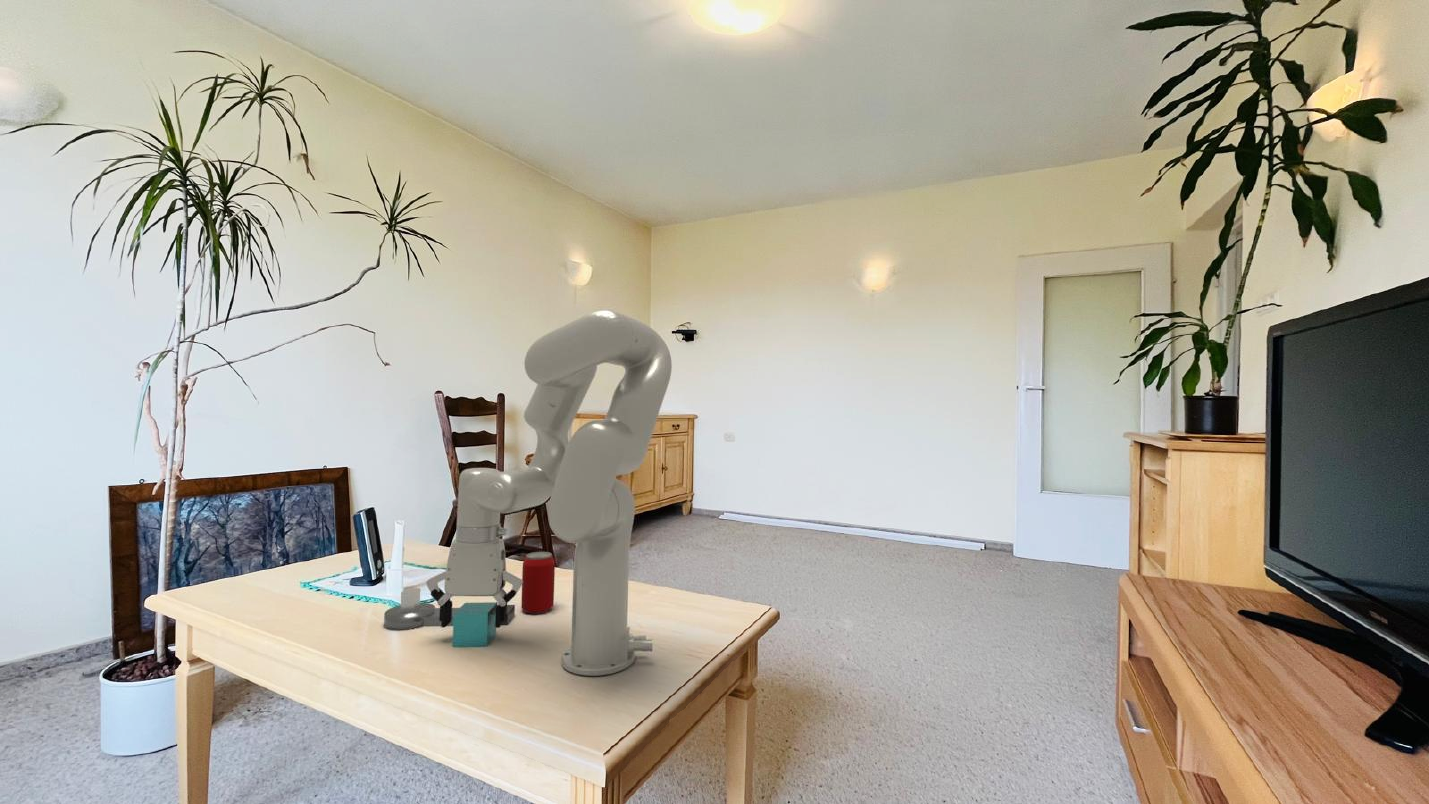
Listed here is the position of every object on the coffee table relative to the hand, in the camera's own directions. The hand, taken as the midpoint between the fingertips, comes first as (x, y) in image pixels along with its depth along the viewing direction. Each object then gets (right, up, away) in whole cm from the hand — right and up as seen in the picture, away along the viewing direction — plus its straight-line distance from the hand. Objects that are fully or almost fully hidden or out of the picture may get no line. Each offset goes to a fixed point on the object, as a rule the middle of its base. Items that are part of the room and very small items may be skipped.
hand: (472, 624), depth 103 cm
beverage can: (+7, -4, +16) cm, 18 cm away
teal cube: (+1, -3, 0) cm, 3 cm away
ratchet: (-9, -3, +9) cm, 13 cm away
